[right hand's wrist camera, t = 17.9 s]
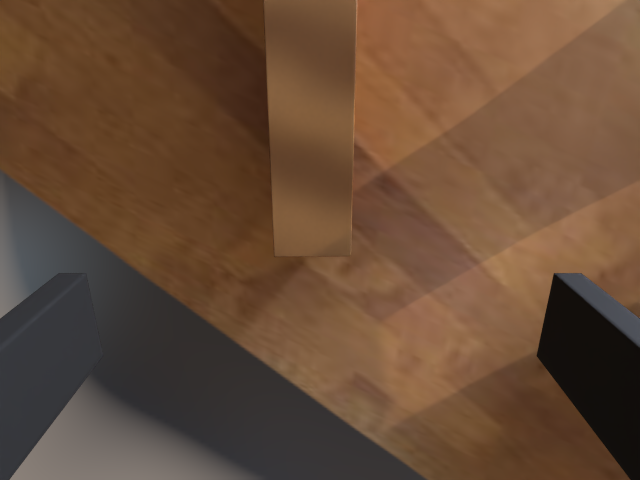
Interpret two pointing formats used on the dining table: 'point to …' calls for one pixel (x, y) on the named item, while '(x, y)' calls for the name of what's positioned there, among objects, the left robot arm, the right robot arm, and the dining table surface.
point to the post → (311, 123)
